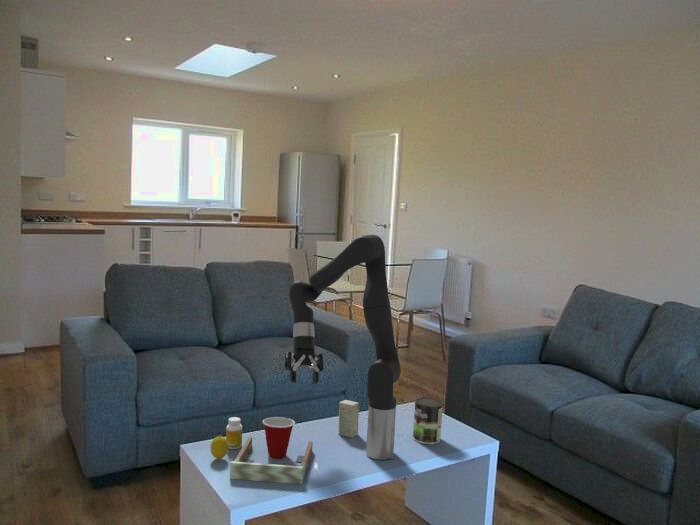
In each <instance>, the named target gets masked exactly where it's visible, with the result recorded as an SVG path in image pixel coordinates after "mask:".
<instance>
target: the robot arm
mask: <svg viewBox="0 0 700 525" xmlns="http://www.w3.org/2000/svg"><path fill="white" fill-rule="evenodd" d="M363 263H364V265H365V272H366V283H365V285H364V286H365V287H364V290H363V295H362V296H363V297H362V310H363V315H364V316H363V317H364V323H365V324H366V327H367V329H368V331H369V334H370V335H371V337H372V340H373V343H374V347H375V355H376V360H375V361H374V362H372V363H371V364H370V366H369V367H368V370H367V381H366V383H367V386H366V387H367V388H366V389H367V390H366V394H367V399H368V412H367V416H368V417H367V430H366V432H367V433H366V447H365V449H366V452H365V453H366V456H367V457H368V458H370V459H374V460H378V461H383V460H385V461H386V460H393V459H394V451H395V436H396V414H397V413H396V412H397V411H396V410H397V398H396V396H394V383H396V382H397V381H398V380H399V378H400V377H401V372H402V371H401V370H402V368H401V363H400V360H399V354H398V351H397V346H396V341H395V335H394V325H393V316H392V309H391V302H390V296H389V288H388V280H387V270H386V269H387V267H386V264H387V263H386V246H385V243H384V241H383V239H382V238H381V236H379V235H378V234H364V235H363V234H362V235H359V236H357V237H356V238H354V239H353V240H352V241H351V242H350V243H349V244H348V245H347V246H346V247H345V248H344V249H343V250H342V251H341V252H340V253H339V254H338V255H337V256H336V257H334V258H333V259H332V260H330V261H329V262H327V263H326V264H324V265H323V266H321V267H320V268H319V269H317V270H316V271H314V272H313V273H312V274H311V275H310V276H309V279H308V280H309V282H305V281H302V280H295V281H293V282H292V283H291V284H290V286H289V289H288V297H289V301H290V305H291V308H292V311H293V312H292V313H293V328H292V329H293V330H292V331H293V332H292V338H293V339H292V340H293V342H292V343H293V344H292V347H293V352H292V351H288V352H285V354H284V355H285V356H284V370H285V371H289V380H290V382H291V384H295V383H297V369H298V368H299V367H301V366H304V367H308V368H309V369H310V370H311V371H312V385H313V384H314V385H317V384H318V383H319V381H320V380H319V374H320V373H321V372H323V371H324V358H323V356H324V355H323V353H318V354H317V353H316V352H315V350H316V349H315V348H316V342H315V341H316V340H315V334H316V333H315V326H314V325H315V324H314V322H315V321H314V310H313V308H311V306H310V307H309V306H308V305H307V304H308V303H309V304H310V303H312V302H315V301H316V300H317V299H318V298H319V297H320V296H321V294H323V292H324V291H325V290H326V289H328V288H329V287H330V286H332V285H333V284H335V283H337V282H338V281H339V280H340V279H341V277H342V276H344V274H345V273H346V272H348V270H350V269H352V268H353V267H357V266H358V265H361V264H363ZM293 359H294V361H293V363H292V360H293Z"/></svg>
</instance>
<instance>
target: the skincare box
mask: <svg viewBox="0 0 700 525" xmlns="http://www.w3.org/2000/svg"><path fill="white" fill-rule="evenodd" d="M359 409H360V404H359V402H357V401H353V400H349V399H344V400H341V401H339V402H338V435H341V436H342V437H343V436H344V437H348V438H352V439H353V438H355V437H356V436H358V435H359V414H360V413H359V412H360V411H359Z"/></svg>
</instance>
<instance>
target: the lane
mask: <svg viewBox="0 0 700 525" xmlns="http://www.w3.org/2000/svg"><path fill="white" fill-rule="evenodd" d="M313 445H314V444H313V441H310V440H309V441H308V443H307V446H306V449H305V452H304V455H303V456H304V458H303V461H302V463H300V464H301V465H287V464H274V463H273V464H272V463H260V462H259V463H258V462H253V463H249V462H243V461H244V460H245V459H246V460H247V456H248V455H249V453H250V451H251V449H252V447H253V437H252V436H248V437H247V440H246V441H245V442H244V445H242V446H241V449H240V450H239V453H238V454H237V456H236V457H235V459H234V461H233V460H232V461H230V467H229V470H230V471H229V479H230V480H231V479H232V480H242V481H253V482H255V481H256V482H257V481H258V482H269V483H279V484H280V483H281V484H292V483H293V484H295V485H303V482H304V479H305V475H306V472H307V470H306V469H308V467H309V463H310V460H311V456H312V454H313Z"/></svg>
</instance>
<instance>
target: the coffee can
mask: <svg viewBox="0 0 700 525" xmlns="http://www.w3.org/2000/svg"><path fill="white" fill-rule="evenodd" d="M443 409H444V402H443V401H442V400H440V399H438V398H434V397H426V396H425V397H418V398H416V399H415V400H414V417H413V430H412V439H413V440H414V441H415V442H416V443H419V444H423V445H437V444H439V443H440V442H441V435H442V434H441V432H442V421H443Z"/></svg>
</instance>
